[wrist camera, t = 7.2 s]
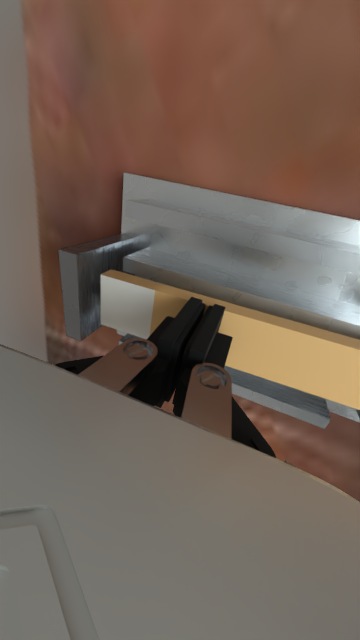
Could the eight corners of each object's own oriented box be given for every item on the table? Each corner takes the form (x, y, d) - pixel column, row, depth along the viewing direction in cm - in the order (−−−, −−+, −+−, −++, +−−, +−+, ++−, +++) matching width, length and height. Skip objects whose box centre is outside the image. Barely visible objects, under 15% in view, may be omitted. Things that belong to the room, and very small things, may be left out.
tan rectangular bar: (466, 362, 10) (496, 388, 9) (413, 414, 12) (432, 442, 11) (114, 264, 13) (97, 272, 12) (112, 317, 15) (97, 329, 14)
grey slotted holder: (492, 246, 12) (759, 310, 5) (362, 405, 18) (411, 527, 12) (139, 174, 16) (44, 160, 10) (128, 323, 22) (66, 377, 16)
